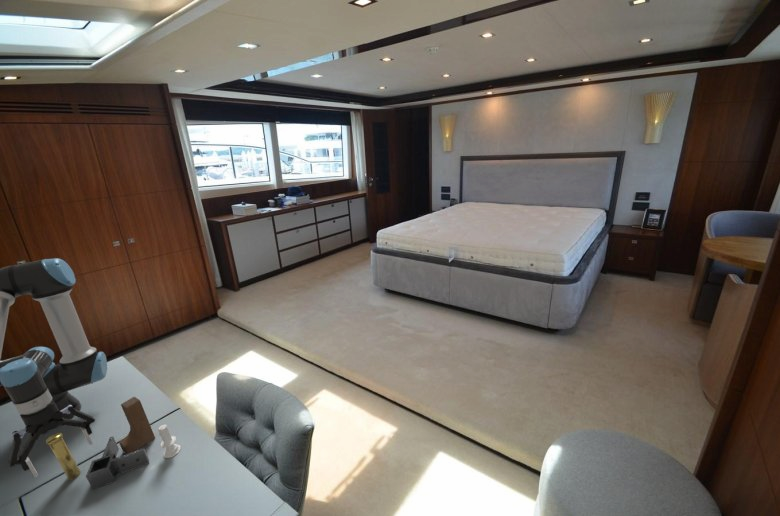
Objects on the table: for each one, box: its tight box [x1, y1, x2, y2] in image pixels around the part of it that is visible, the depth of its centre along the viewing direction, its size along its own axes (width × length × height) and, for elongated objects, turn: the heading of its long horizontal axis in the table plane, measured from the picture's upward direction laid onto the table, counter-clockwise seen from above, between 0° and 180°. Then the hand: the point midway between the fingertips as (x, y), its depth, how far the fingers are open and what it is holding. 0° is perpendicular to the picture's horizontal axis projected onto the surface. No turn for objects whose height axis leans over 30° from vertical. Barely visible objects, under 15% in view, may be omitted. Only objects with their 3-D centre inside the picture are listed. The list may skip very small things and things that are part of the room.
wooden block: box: [119, 396, 156, 455], centre depth 120 cm, size 9×4×18 cm, turn 148°
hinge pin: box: [45, 432, 81, 481], centre depth 110 cm, size 4×4×17 cm
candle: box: [158, 423, 182, 459], centre depth 117 cm, size 5×5×12 cm
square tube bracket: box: [85, 436, 150, 490], centre depth 116 cm, size 15×15×6 cm
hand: (64, 458), depth 110 cm, fingers open, 13 cm apart
